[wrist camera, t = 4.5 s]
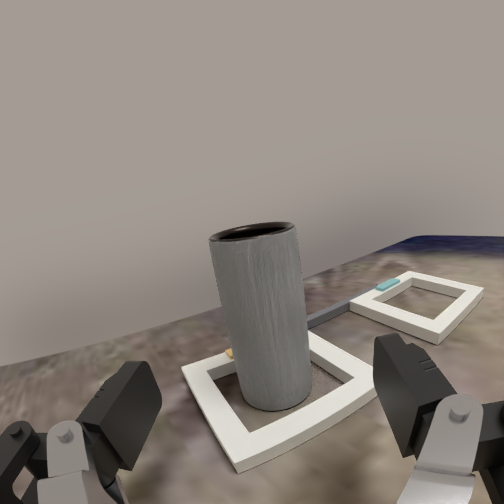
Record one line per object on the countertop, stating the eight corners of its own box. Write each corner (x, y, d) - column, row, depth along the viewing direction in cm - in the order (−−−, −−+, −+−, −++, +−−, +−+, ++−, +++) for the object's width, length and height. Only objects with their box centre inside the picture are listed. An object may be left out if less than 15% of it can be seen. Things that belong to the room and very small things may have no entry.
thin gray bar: (376, 291, 29) (376, 284, 29) (382, 293, 28) (382, 286, 28) (240, 351, 22) (238, 343, 22) (244, 355, 22) (242, 347, 22)
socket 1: (298, 334, 24) (296, 320, 23) (387, 387, 15) (389, 371, 14) (184, 377, 20) (179, 363, 19) (238, 473, 11) (232, 460, 10)
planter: (314, 408, 15) (297, 231, 12) (238, 413, 15) (197, 245, 13) (310, 364, 19) (293, 218, 17) (246, 370, 20) (218, 229, 17)
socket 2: (408, 279, 30) (408, 268, 30) (482, 297, 21) (484, 285, 21) (349, 310, 26) (349, 297, 26) (437, 345, 17) (439, 330, 17)
